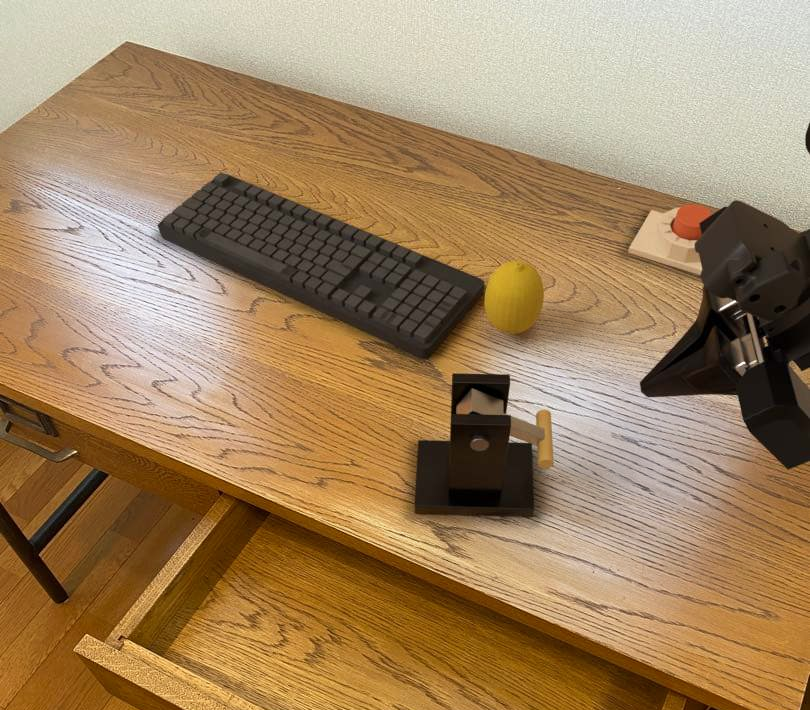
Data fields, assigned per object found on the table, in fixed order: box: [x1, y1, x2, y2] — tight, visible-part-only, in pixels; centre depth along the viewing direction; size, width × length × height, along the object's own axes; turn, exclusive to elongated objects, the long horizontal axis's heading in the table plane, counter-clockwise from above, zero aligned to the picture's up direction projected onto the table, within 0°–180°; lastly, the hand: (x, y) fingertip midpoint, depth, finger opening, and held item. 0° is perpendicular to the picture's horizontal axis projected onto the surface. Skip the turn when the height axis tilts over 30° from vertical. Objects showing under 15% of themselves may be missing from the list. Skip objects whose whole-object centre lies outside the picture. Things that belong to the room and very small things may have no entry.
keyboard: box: [157, 171, 485, 360], centre depth 79 cm, size 35×11×2 cm, turn 57°
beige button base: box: [627, 207, 702, 276], centre depth 78 cm, size 10×7×2 cm
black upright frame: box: [414, 373, 535, 518], centre depth 60 cm, size 10×7×11 cm
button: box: [673, 204, 713, 241], centre depth 77 cm, size 4×4×2 cm
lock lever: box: [456, 388, 555, 469], centre depth 58 cm, size 8×5×2 cm, turn 87°
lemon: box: [484, 260, 545, 335], centre depth 70 cm, size 6×6×8 cm
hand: (643, 390), depth 54 cm, fingers closed
